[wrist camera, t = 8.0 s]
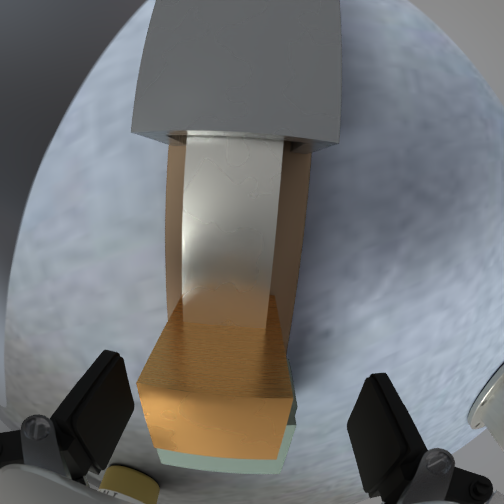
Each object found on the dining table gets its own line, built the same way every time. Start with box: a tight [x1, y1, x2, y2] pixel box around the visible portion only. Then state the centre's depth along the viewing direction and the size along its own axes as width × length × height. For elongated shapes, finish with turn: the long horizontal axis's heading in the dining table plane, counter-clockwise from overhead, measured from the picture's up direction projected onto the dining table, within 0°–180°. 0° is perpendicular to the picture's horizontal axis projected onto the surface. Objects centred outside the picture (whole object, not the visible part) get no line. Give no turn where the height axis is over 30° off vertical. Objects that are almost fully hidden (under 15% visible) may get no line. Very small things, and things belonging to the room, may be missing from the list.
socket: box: [156, 359, 297, 474], centre depth 13 cm, size 7×5×5 cm
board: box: [165, 140, 312, 353], centre depth 14 cm, size 7×24×1 cm, turn 176°
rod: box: [136, 135, 293, 460], centre depth 10 cm, size 4×15×7 cm, turn 176°
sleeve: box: [131, 0, 342, 154], centre depth 9 cm, size 6×8×5 cm
